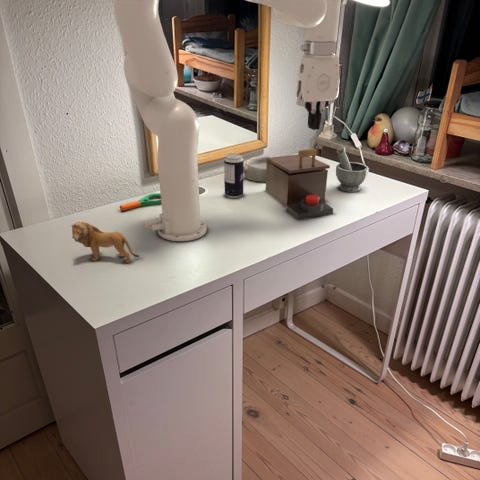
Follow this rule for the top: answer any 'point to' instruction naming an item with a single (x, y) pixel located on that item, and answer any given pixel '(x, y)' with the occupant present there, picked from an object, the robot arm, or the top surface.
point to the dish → (256, 168)
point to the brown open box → (294, 184)
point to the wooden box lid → (299, 162)
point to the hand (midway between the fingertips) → (313, 128)
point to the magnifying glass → (142, 202)
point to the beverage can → (233, 175)
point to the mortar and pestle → (350, 172)
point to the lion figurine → (100, 239)
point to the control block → (309, 209)
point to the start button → (312, 199)
